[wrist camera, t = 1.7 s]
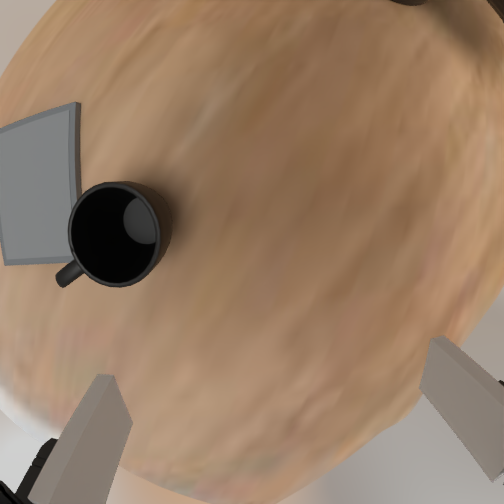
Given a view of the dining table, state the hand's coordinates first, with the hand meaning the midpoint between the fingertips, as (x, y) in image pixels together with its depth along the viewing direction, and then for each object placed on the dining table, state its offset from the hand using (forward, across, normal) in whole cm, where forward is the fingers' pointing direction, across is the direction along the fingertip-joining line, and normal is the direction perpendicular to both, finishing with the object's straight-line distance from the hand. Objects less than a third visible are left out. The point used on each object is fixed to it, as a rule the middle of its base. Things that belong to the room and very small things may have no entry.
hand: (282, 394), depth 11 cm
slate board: (+21, -25, +11) cm, 35 cm away
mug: (+22, -12, +4) cm, 25 cm away
